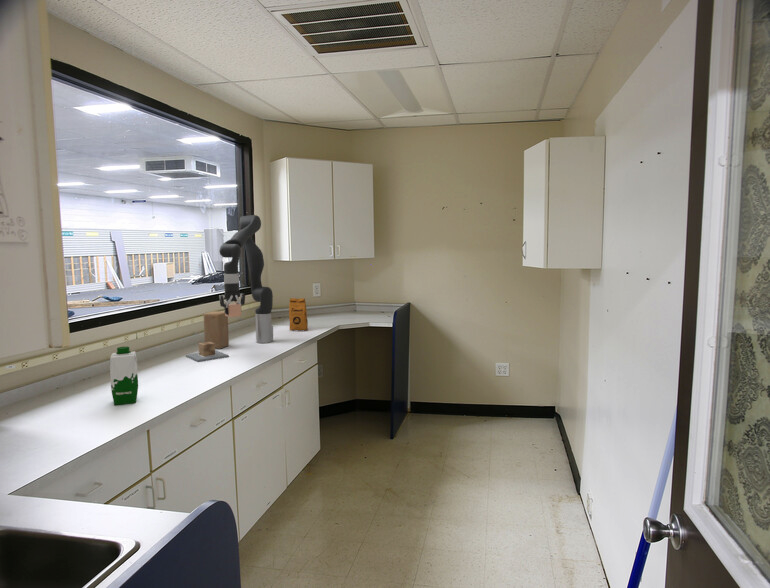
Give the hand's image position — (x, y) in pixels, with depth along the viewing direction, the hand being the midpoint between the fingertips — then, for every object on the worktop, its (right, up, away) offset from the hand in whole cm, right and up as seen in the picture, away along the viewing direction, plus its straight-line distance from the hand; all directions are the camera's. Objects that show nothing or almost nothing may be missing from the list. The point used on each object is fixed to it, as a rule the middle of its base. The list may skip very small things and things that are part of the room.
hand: (233, 313), depth 257 cm
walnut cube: (-12, -21, -4) cm, 25 cm away
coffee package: (+21, -14, +75) cm, 79 cm away
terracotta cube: (0, -1, 0) cm, 1 cm away
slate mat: (-12, -22, -4) cm, 26 cm away
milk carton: (-16, -30, -76) cm, 83 cm away
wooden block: (-16, -20, +21) cm, 33 cm away
